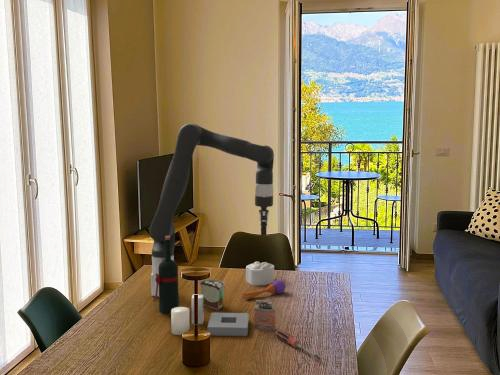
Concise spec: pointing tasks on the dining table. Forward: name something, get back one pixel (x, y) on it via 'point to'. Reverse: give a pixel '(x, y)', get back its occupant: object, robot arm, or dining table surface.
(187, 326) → the white short cylinder
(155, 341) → the dining table surface
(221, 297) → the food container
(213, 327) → the socket block
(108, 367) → the dining table surface
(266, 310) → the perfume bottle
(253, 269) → the lumpy-topped squat cylinder
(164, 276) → the wine bottle
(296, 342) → the screwdriver
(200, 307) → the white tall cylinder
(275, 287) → the kendama
